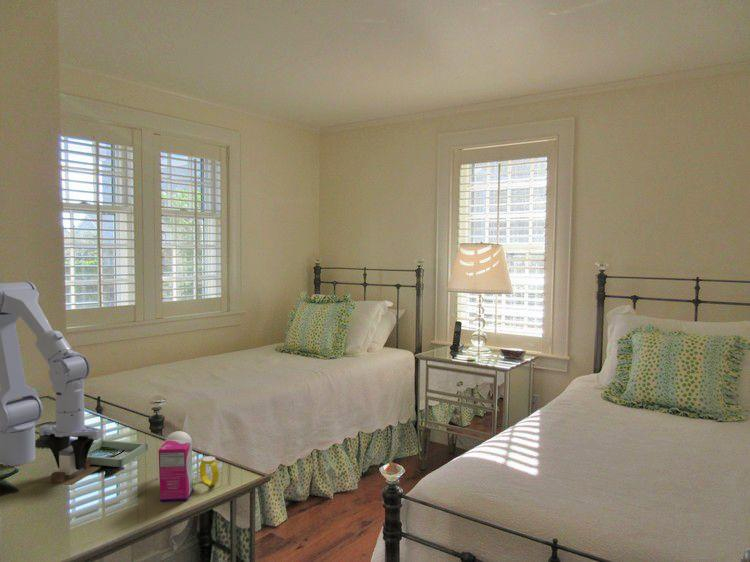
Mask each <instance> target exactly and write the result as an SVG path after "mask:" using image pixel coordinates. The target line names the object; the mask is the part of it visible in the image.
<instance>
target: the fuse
mask: <svg viewBox="0 0 750 562" xmlns="http://www.w3.org/2000/svg"><path fill="white" fill-rule="evenodd" d="M58 469H59V470H58V471H59V472H65V478H69V479H70V478H72V477H73V476H75V475H77V474H78V473H80V472H82V471H83V468H82V469H80V470H76V467H75V455H74V450H73V447H72V445H71V444H70V445H68V447H67V448H65V449H63V450H61V451H59V468H58Z"/></svg>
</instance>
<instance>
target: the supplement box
mask: <svg viewBox="0 0 750 562" xmlns="http://www.w3.org/2000/svg"><path fill="white" fill-rule="evenodd" d="M165 440H166V439H165ZM157 451H158V476H159V477H158V478H159V501H160V502H161V503H162V502H164V503H165V502H188V501H189V498H190V496H191V494H192V493H193V492H194V473H193V471H194V470H193V469H194V468H193V440H192V438H191V439H187V440H166V441H164V442H163V444H162V445H161V446H160V447H159V449H158V450H157Z"/></svg>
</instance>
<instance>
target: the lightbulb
mask: <svg viewBox="0 0 750 562" xmlns="http://www.w3.org/2000/svg"><path fill="white" fill-rule="evenodd" d="M187 439H191V440H192V437H191V436H190V434H188V433H187V432H185V431H182V430H181V431H180V430H179V431H178V430H177V431H173V432H171V433H170V434H169V435H168V436H167V437H166V438H165V441H166V440H187ZM165 441H164V442H165Z"/></svg>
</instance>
